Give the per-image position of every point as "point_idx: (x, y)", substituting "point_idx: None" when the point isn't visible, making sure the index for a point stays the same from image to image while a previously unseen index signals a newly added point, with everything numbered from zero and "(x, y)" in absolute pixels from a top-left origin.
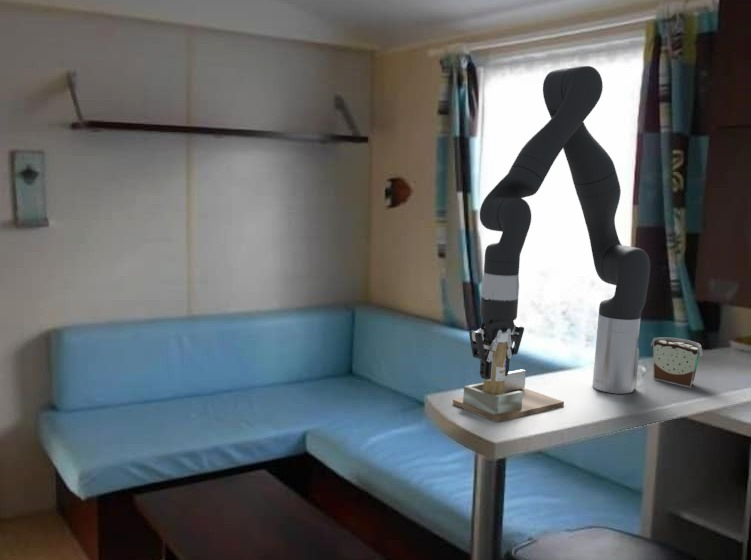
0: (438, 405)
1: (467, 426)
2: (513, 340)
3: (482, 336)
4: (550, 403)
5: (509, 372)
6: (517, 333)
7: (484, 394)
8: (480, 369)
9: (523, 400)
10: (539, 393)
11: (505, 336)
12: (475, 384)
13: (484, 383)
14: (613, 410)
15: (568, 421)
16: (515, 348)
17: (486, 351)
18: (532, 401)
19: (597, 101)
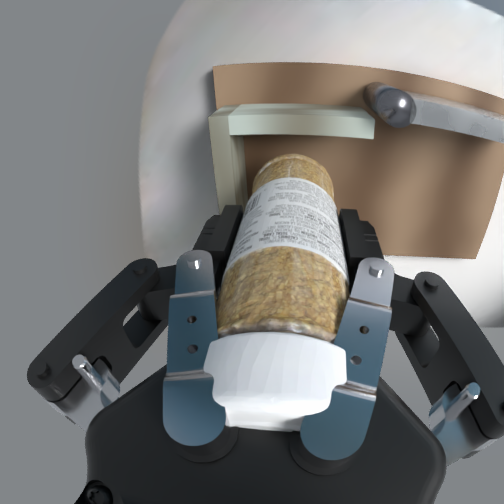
0: (167, 58)
1: (150, 225)
2: (431, 369)
3: (112, 401)
4: (444, 250)
5: (491, 128)
6: (430, 428)
7: None
8: (202, 234)
9: (416, 195)
10: (499, 184)
11: None
12: (271, 118)
13: (252, 194)
14: (496, 308)
15: None
16: (408, 348)
17: (220, 293)
18: (426, 216)
19: None
